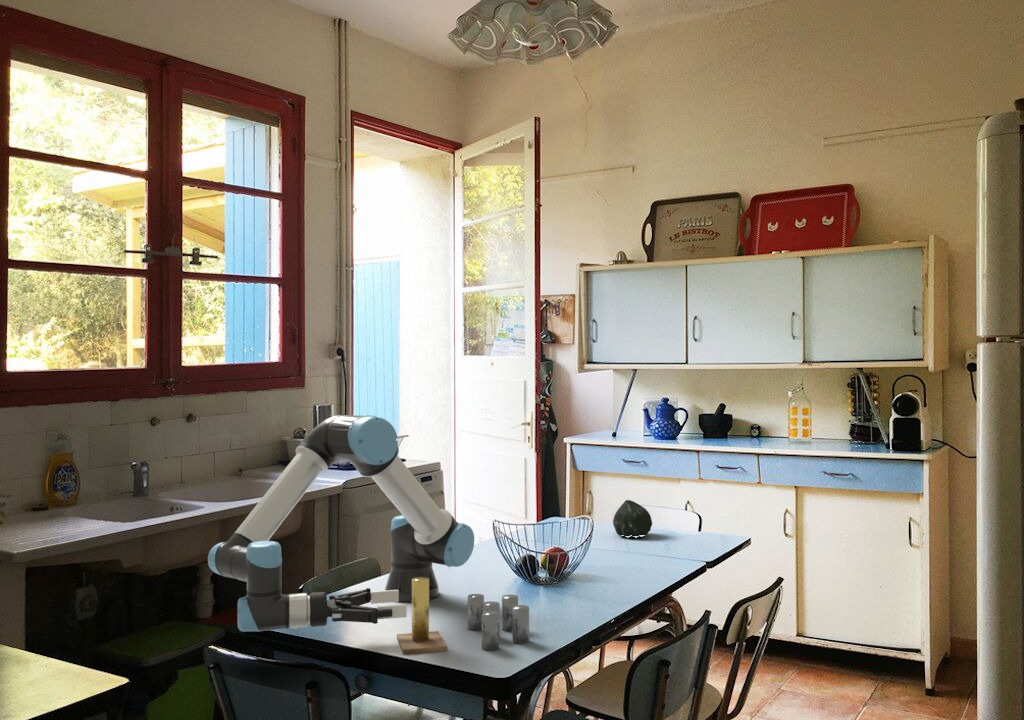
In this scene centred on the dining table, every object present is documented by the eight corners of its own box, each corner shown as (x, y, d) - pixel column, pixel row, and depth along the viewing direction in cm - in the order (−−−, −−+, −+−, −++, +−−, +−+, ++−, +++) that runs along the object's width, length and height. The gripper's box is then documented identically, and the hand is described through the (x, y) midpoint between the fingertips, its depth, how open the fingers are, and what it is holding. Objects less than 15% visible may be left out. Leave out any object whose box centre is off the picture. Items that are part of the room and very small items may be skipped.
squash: (657, 519, 339) (631, 490, 340) (660, 527, 324) (633, 497, 325) (630, 543, 340) (604, 514, 341) (631, 552, 325) (604, 522, 326)
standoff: (410, 637, 206) (410, 577, 206) (427, 635, 207) (427, 576, 207) (413, 642, 202) (413, 581, 202) (430, 640, 203) (430, 580, 203)
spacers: (466, 626, 218) (466, 594, 218) (513, 622, 221) (512, 591, 221) (484, 651, 198) (483, 616, 198) (534, 647, 201) (534, 612, 201)
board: (396, 638, 208) (396, 634, 208) (438, 635, 211) (438, 631, 211) (403, 654, 197) (403, 649, 197) (446, 650, 199) (446, 646, 199)
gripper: (307, 611, 210) (395, 605, 215) (310, 643, 186) (410, 634, 191) (307, 580, 210) (395, 574, 216) (310, 607, 186) (409, 600, 191)
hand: (402, 602), depth 203 cm, fingers open, 13 cm apart
